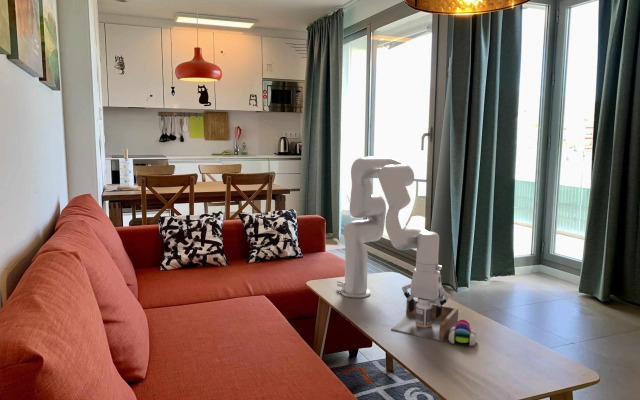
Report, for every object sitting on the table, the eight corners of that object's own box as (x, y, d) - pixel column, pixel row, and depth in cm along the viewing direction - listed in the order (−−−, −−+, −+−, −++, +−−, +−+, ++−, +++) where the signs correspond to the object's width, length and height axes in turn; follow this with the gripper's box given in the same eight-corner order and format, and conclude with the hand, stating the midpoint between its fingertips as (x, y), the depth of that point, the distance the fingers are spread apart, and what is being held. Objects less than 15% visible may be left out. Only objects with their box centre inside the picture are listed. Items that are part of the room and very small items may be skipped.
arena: (388, 329, 172) (389, 313, 171) (407, 313, 188) (407, 298, 187) (442, 342, 163) (443, 324, 162) (457, 324, 179) (458, 308, 178)
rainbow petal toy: (476, 338, 167) (477, 317, 166) (474, 350, 158) (476, 328, 157) (450, 334, 169) (451, 314, 168) (447, 345, 160) (448, 324, 159)
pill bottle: (428, 322, 179) (429, 295, 178) (433, 328, 173) (435, 300, 172) (413, 322, 178) (414, 295, 177) (417, 328, 173) (419, 301, 171)
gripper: (454, 268, 172) (451, 315, 174) (407, 261, 180) (405, 306, 183) (448, 273, 165) (445, 322, 168) (399, 265, 174) (397, 312, 176)
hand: (424, 313), depth 175 cm, fingers open, 9 cm apart
